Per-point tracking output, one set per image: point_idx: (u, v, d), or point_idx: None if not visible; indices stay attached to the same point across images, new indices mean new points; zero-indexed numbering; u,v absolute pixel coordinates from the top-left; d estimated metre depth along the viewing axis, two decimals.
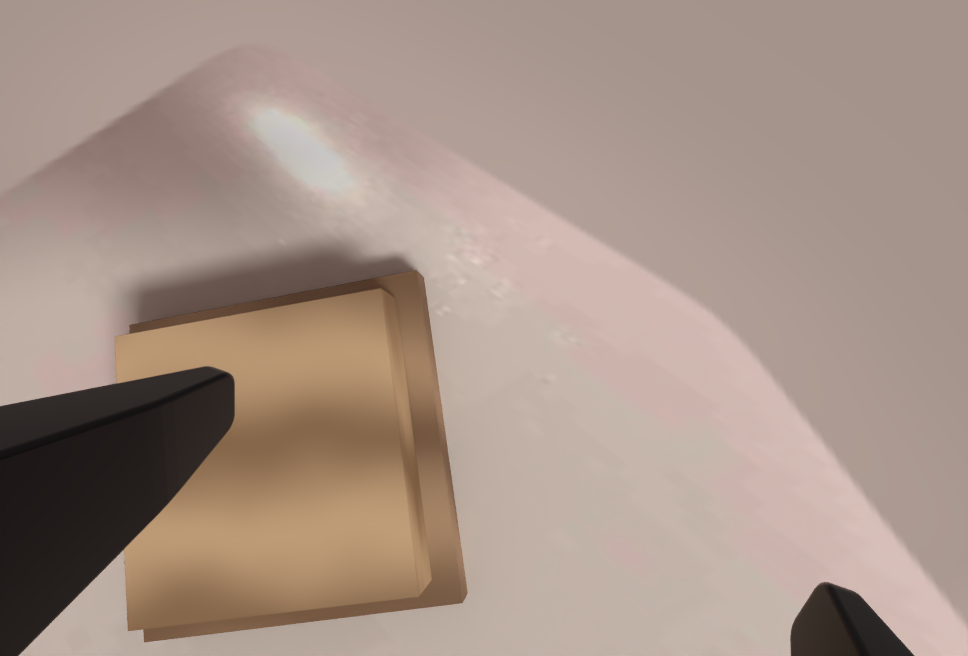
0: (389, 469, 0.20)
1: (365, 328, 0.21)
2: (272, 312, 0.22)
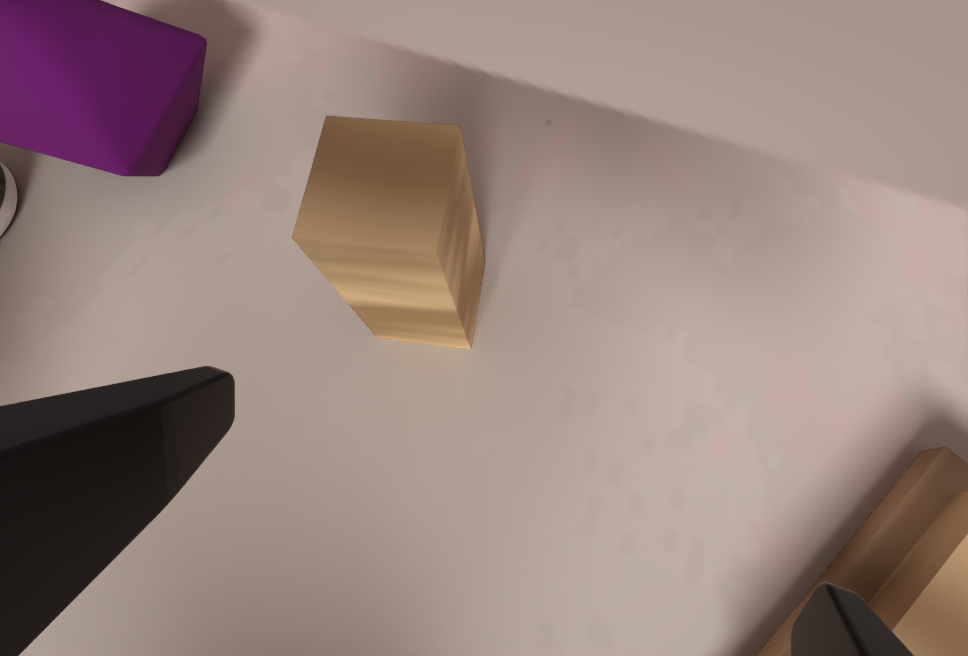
0: None
1: None
2: None
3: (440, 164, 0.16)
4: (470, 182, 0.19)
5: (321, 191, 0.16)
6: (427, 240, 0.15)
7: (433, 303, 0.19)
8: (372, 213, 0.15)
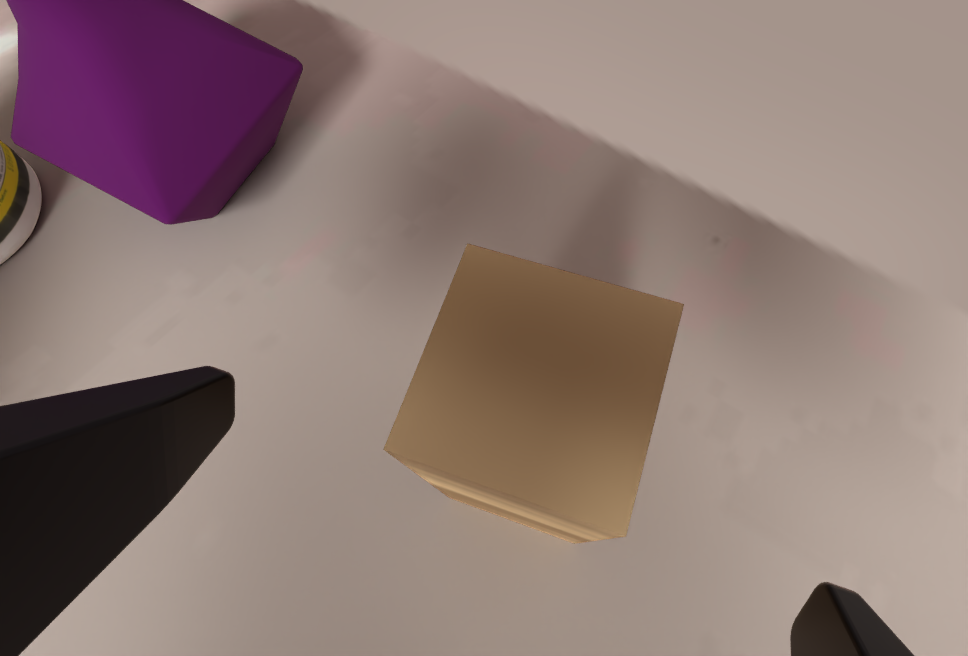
0: None
1: None
2: None
3: (646, 367, 0.09)
4: None
5: (443, 373, 0.10)
6: (613, 508, 0.09)
7: (562, 528, 0.12)
8: (521, 434, 0.09)
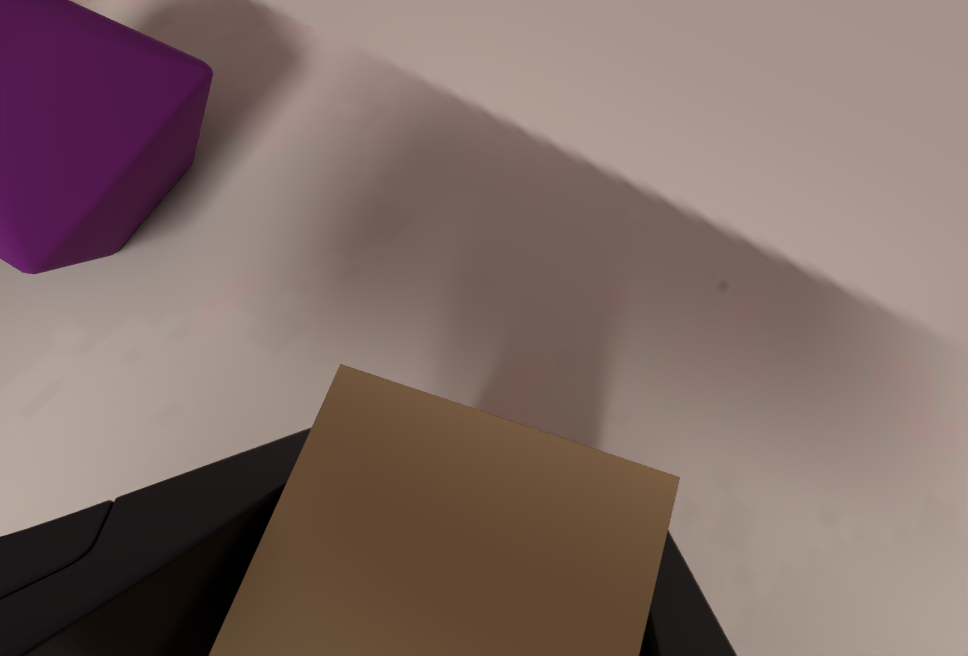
0: None
1: None
2: None
3: (615, 595, 0.06)
4: None
5: (282, 598, 0.06)
6: None
7: None
8: None
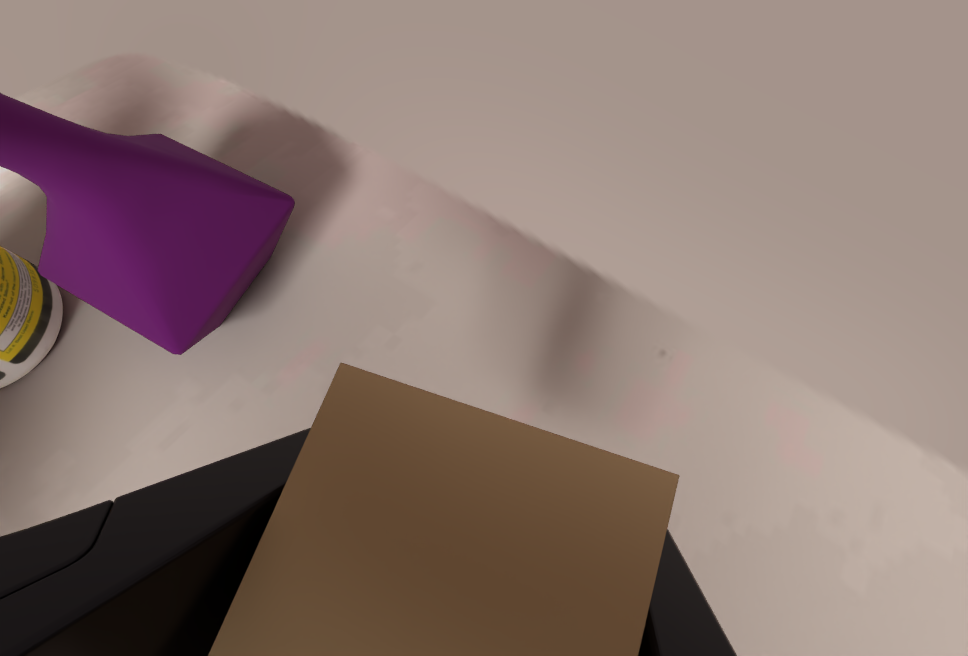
0: None
1: None
2: None
3: (615, 592, 0.06)
4: None
5: (283, 595, 0.06)
6: None
7: None
8: None
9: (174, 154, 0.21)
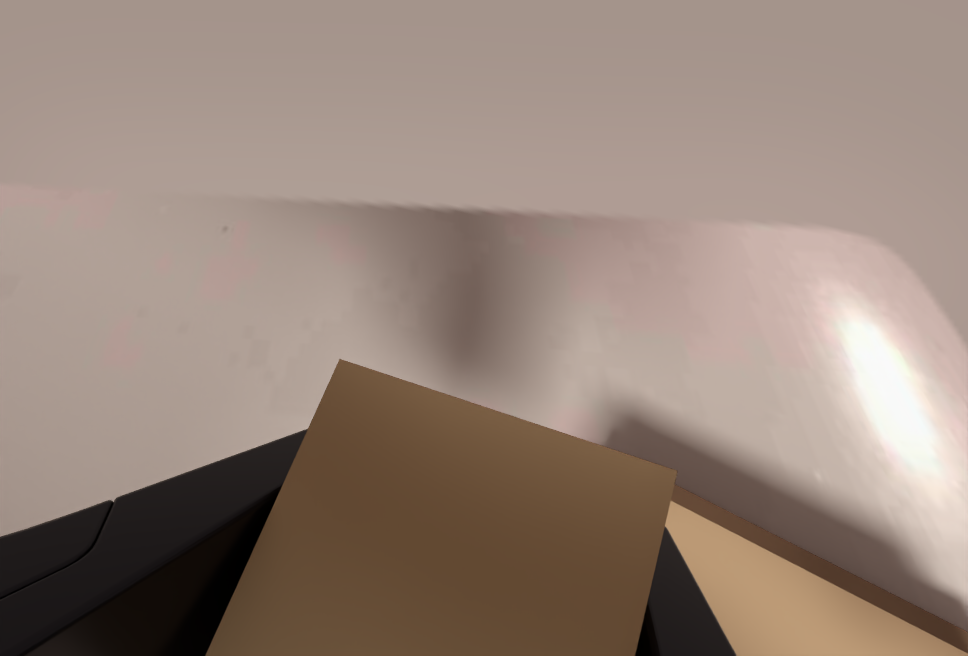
0: None
1: None
2: (866, 608, 0.16)
3: (613, 587, 0.06)
4: None
5: (282, 591, 0.06)
6: None
7: None
8: None
9: None
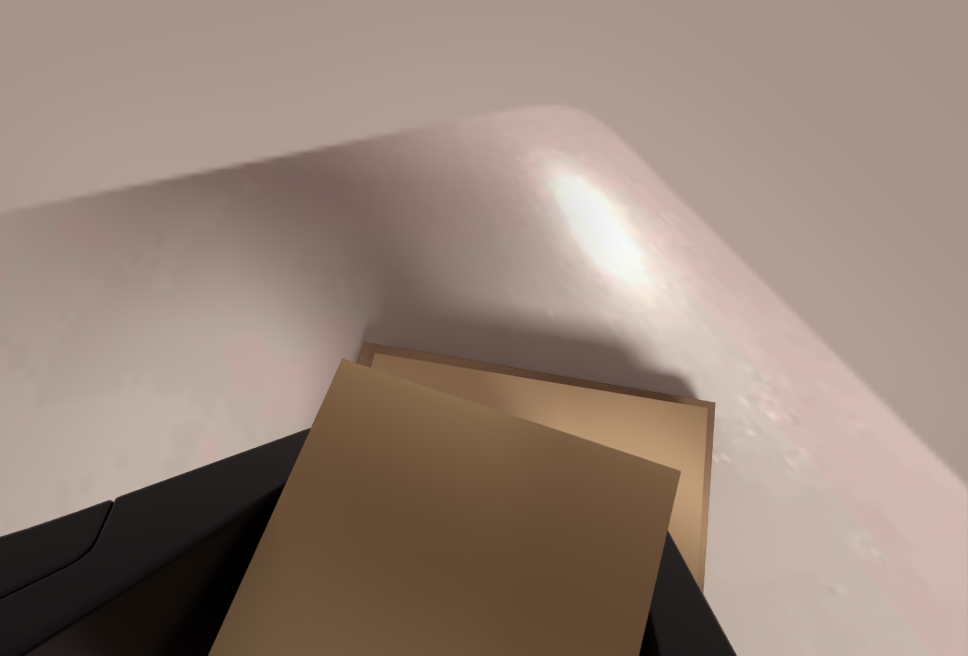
0: None
1: (679, 448, 0.18)
2: (570, 390, 0.18)
3: (616, 588, 0.06)
4: None
5: (285, 590, 0.06)
6: None
7: None
8: None
9: None
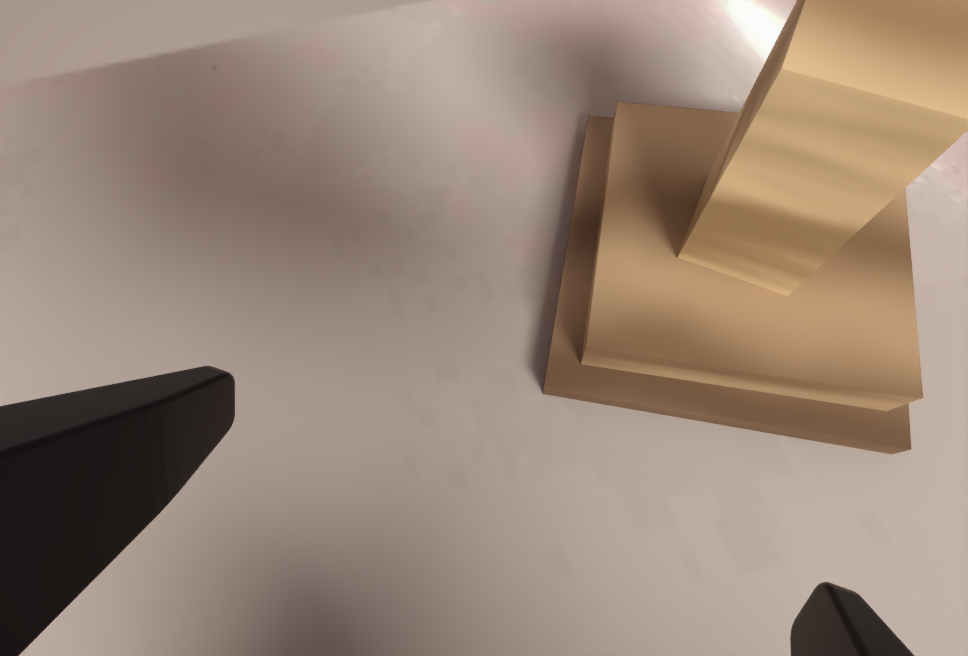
0: (898, 276, 0.20)
1: None
2: None
3: None
4: None
5: (819, 25, 0.13)
6: (964, 106, 0.12)
7: (841, 211, 0.16)
8: (887, 62, 0.12)
9: None
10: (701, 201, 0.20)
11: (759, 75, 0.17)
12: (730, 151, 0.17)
